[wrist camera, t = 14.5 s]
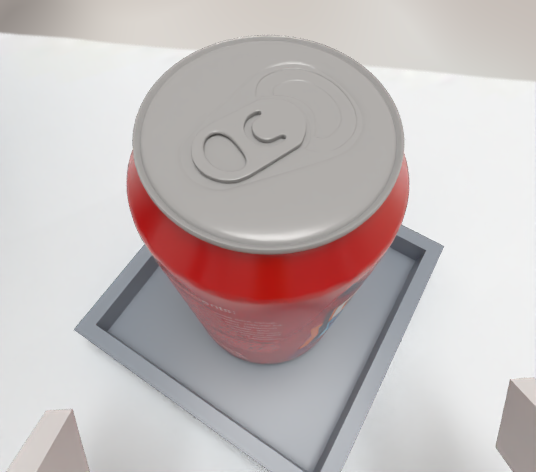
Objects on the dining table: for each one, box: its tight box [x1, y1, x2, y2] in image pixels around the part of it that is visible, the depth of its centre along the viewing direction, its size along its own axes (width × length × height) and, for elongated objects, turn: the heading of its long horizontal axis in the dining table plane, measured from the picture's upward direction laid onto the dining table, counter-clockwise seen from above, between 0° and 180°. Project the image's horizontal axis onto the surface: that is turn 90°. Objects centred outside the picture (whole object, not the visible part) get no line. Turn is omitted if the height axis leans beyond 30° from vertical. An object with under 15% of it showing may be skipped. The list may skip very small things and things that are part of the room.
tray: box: [74, 225, 444, 472], centre depth 22 cm, size 15×15×2 cm
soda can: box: [127, 35, 409, 364], centre depth 16 cm, size 8×8×15 cm
